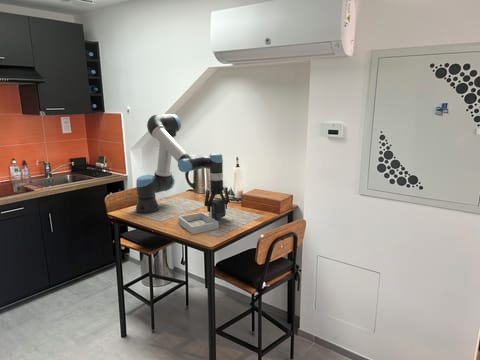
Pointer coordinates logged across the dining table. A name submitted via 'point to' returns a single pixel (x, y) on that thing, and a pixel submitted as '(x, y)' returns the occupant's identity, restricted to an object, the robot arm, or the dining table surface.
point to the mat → (222, 220)
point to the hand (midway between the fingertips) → (217, 215)
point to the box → (218, 208)
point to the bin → (209, 226)
